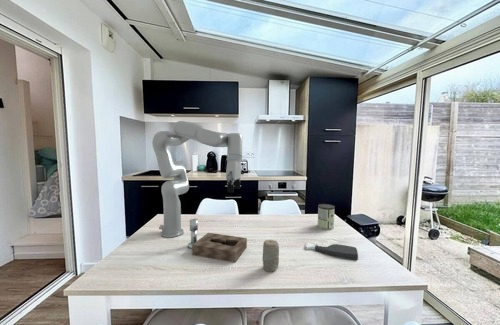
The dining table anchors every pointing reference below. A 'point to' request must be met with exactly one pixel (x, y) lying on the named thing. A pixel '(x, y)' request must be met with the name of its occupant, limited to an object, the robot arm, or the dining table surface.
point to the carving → (270, 255)
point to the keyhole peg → (193, 232)
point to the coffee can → (326, 216)
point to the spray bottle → (335, 250)
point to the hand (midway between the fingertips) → (233, 190)
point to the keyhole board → (220, 247)
